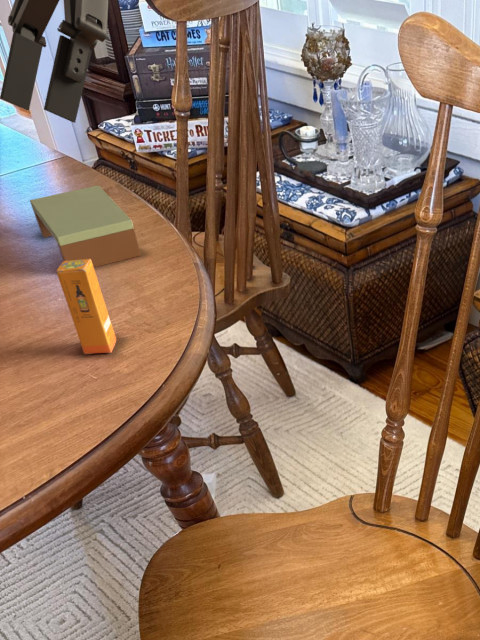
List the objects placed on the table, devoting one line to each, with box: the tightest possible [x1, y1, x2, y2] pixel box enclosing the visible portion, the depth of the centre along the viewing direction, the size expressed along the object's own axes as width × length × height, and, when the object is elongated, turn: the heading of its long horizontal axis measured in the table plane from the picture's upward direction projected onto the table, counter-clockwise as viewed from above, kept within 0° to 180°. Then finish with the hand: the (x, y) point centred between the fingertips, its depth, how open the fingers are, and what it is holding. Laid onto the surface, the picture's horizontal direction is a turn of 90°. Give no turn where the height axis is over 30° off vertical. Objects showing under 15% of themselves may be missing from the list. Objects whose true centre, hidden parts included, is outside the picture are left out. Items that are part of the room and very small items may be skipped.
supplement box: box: [56, 259, 117, 355], centre depth 87 cm, size 3×3×10 cm
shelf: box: [29, 185, 142, 268], centre depth 110 cm, size 16×10×5 cm, turn 32°
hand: (35, 110), depth 78 cm, fingers open, 13 cm apart
